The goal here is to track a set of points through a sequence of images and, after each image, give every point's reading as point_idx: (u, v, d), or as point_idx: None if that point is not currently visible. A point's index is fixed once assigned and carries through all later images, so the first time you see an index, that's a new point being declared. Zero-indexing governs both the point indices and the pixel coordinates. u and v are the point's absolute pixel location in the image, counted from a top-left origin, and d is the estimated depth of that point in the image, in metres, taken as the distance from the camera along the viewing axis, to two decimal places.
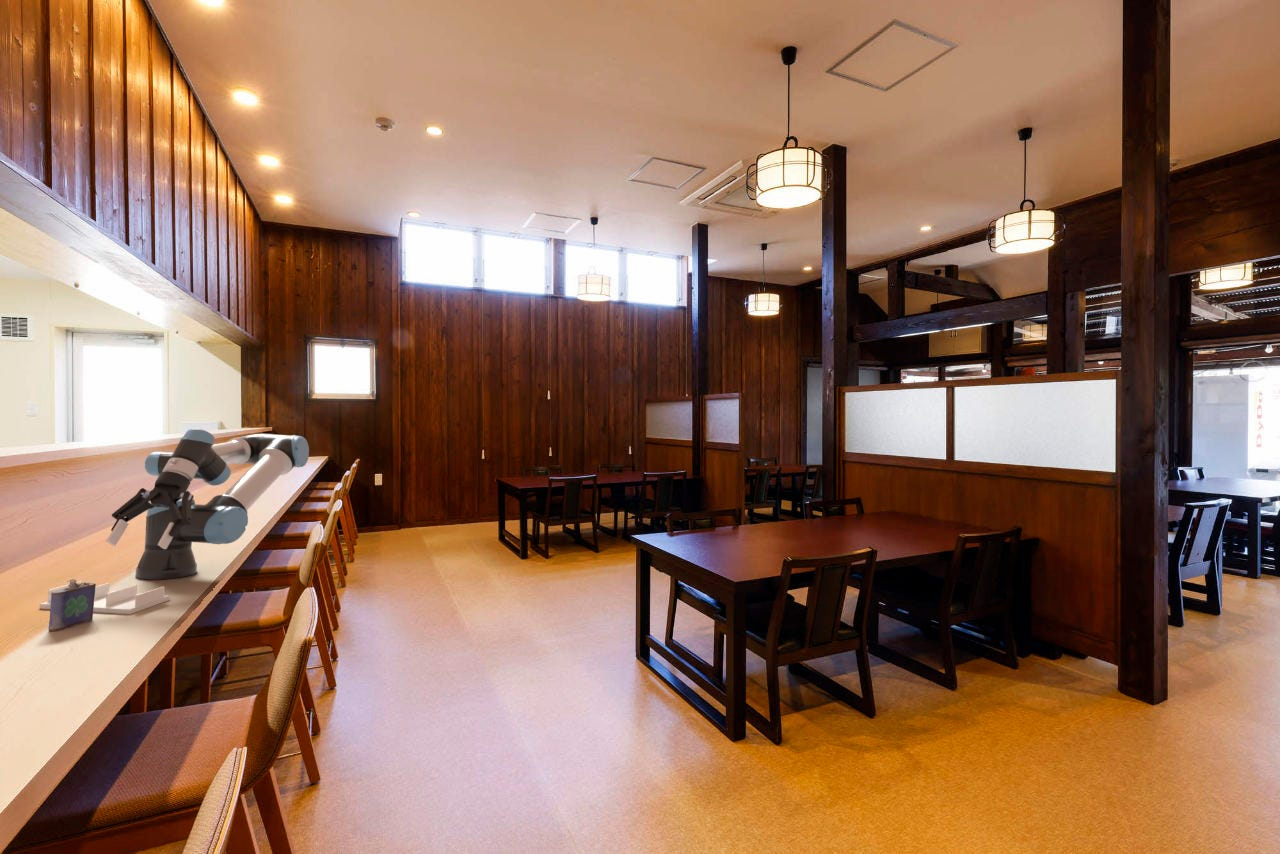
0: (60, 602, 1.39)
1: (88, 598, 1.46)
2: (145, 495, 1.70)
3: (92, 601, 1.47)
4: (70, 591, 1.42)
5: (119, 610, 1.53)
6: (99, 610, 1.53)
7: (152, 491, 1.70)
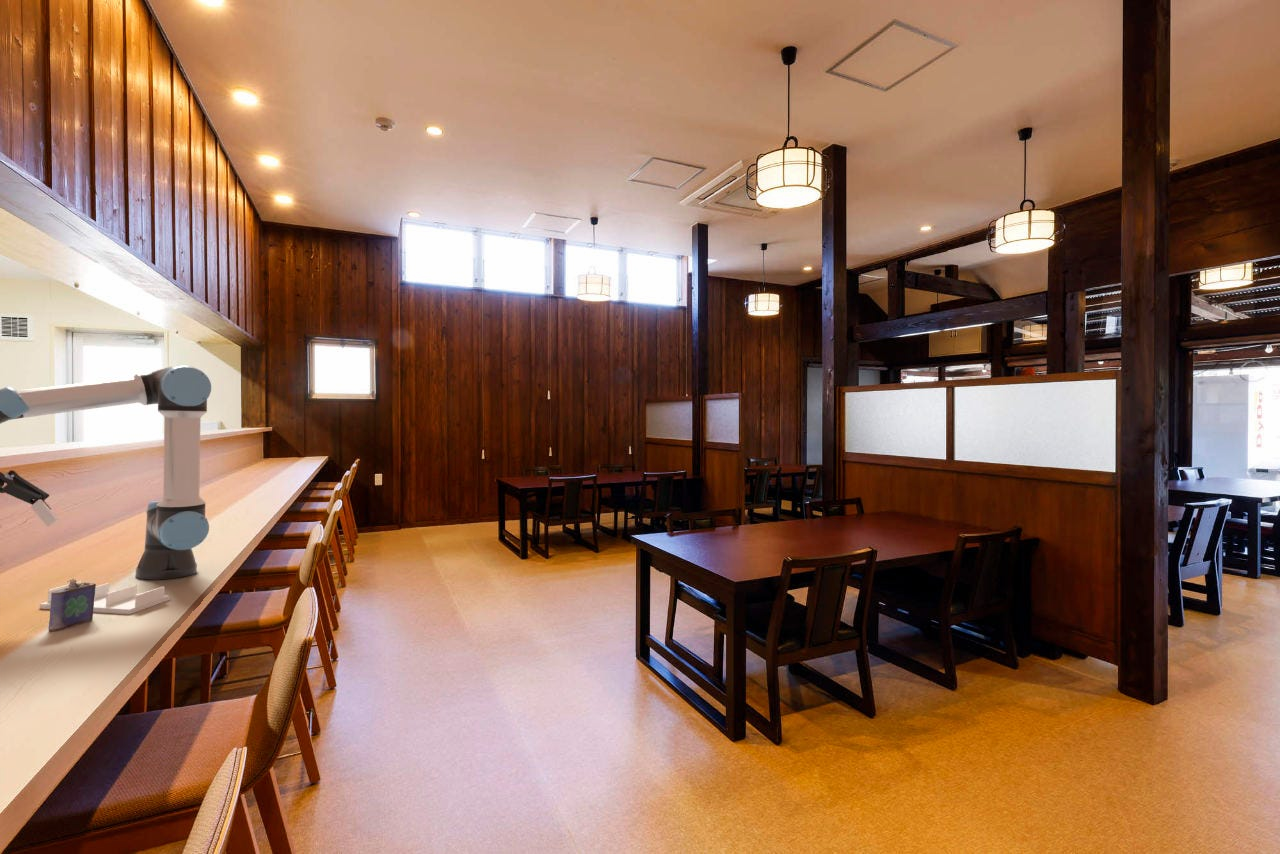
0: (60, 602, 1.39)
1: (88, 598, 1.46)
2: None
3: (92, 601, 1.47)
4: (70, 591, 1.42)
5: (119, 610, 1.53)
6: (99, 610, 1.53)
7: None
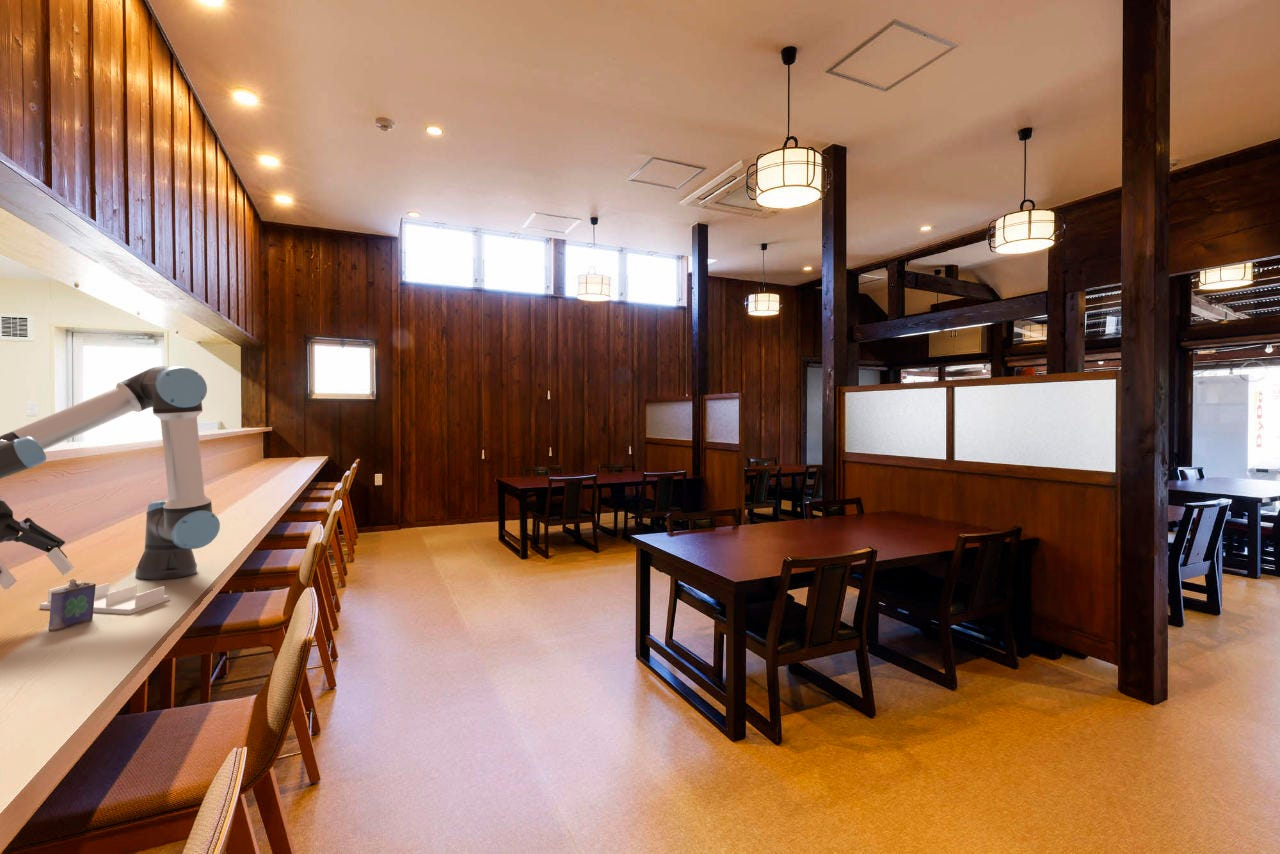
0: (60, 602, 1.39)
1: (88, 598, 1.46)
2: None
3: (92, 601, 1.47)
4: (70, 591, 1.42)
5: (119, 610, 1.53)
6: (99, 610, 1.53)
7: None
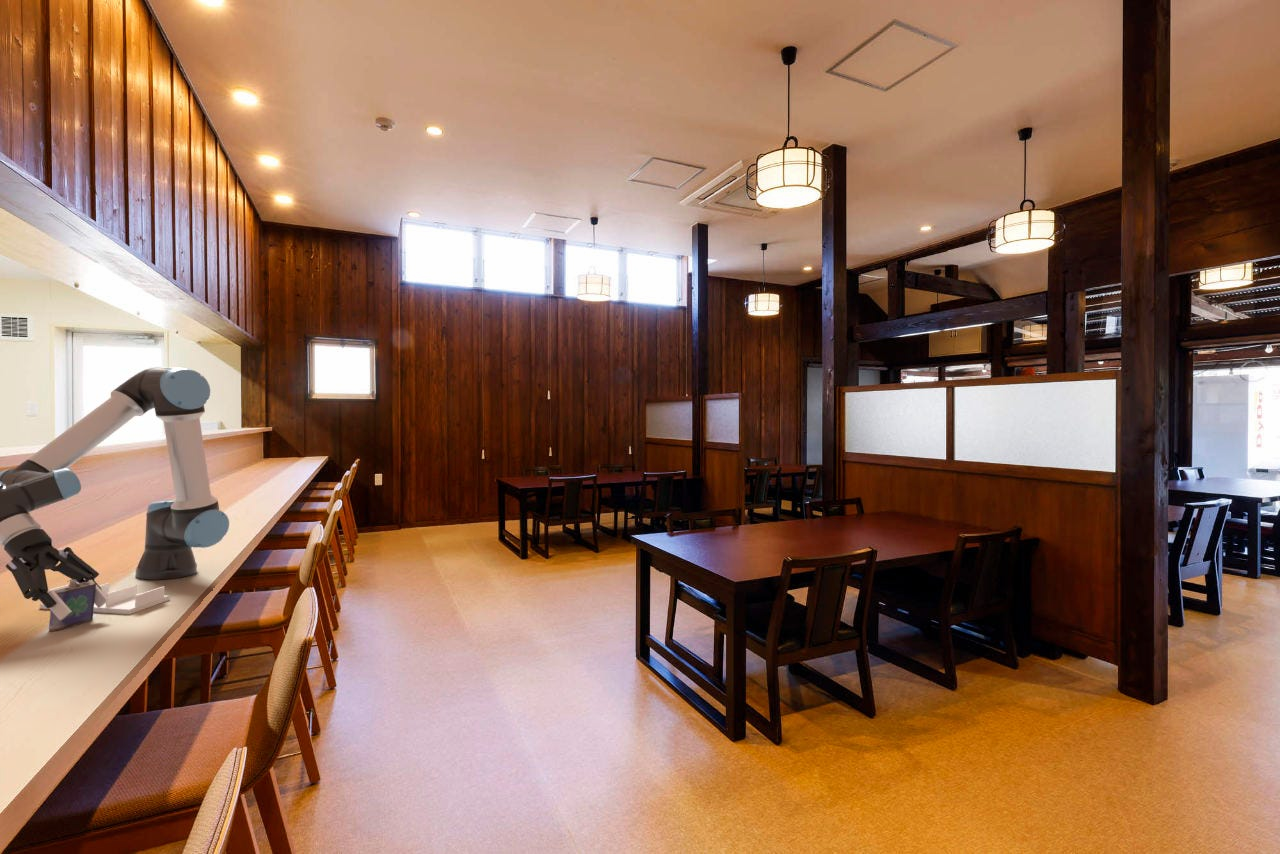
0: None
1: (88, 598, 1.46)
2: None
3: (92, 601, 1.47)
4: (70, 591, 1.42)
5: (119, 610, 1.53)
6: (99, 610, 1.53)
7: None
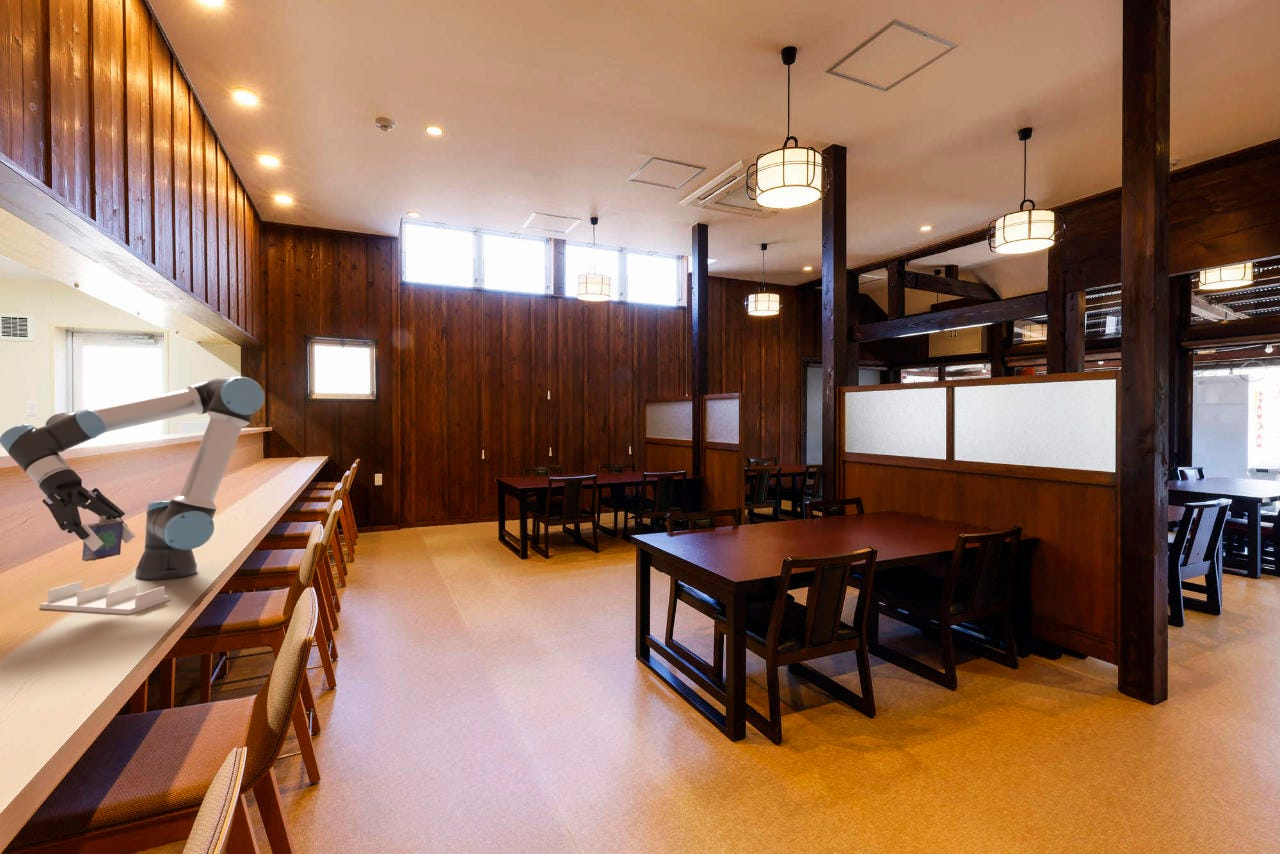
0: None
1: (116, 533, 1.58)
2: None
3: (120, 536, 1.59)
4: (101, 526, 1.54)
5: (119, 610, 1.53)
6: (99, 610, 1.53)
7: None
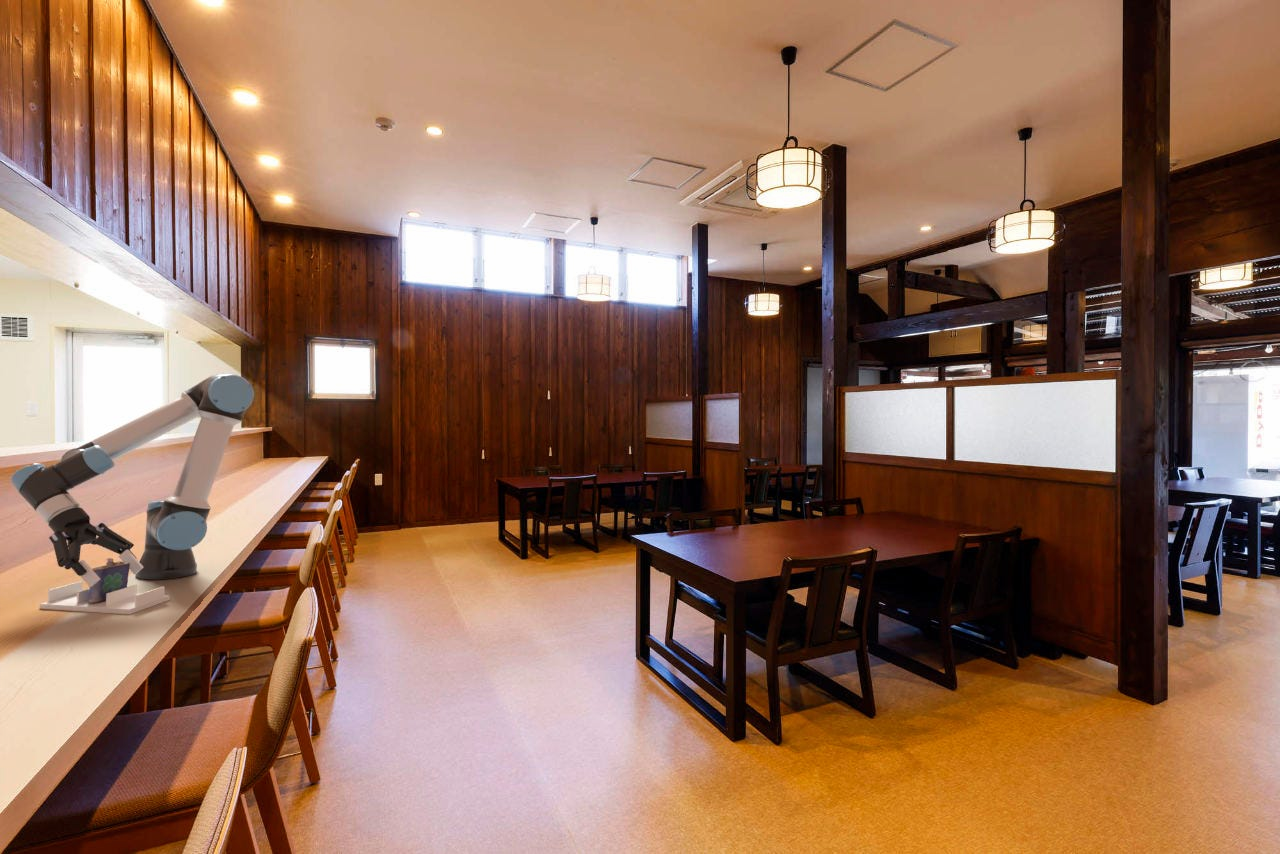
0: None
1: (123, 575, 1.61)
2: None
3: (126, 578, 1.62)
4: (108, 569, 1.57)
5: (119, 610, 1.53)
6: (99, 610, 1.53)
7: None
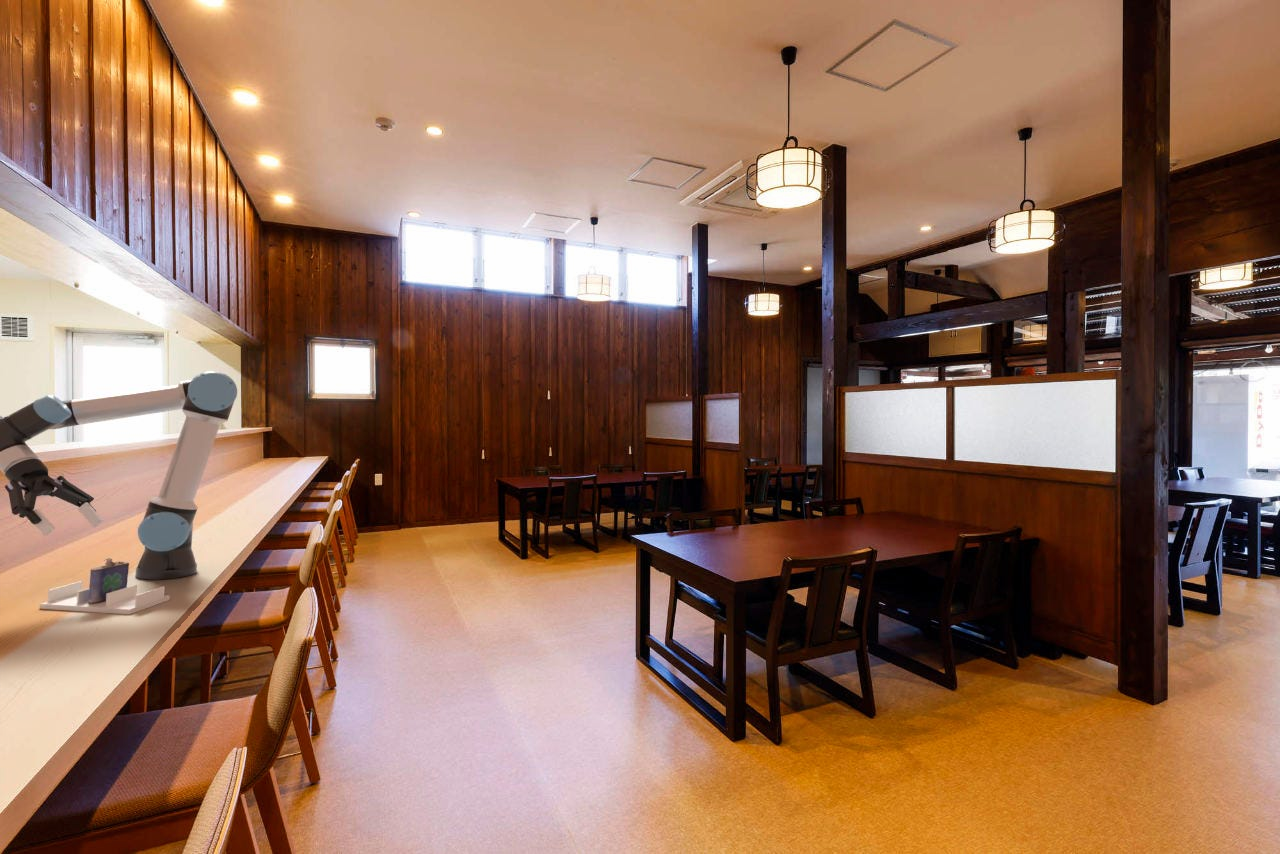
0: (98, 578, 1.55)
1: (122, 575, 1.61)
2: None
3: (126, 578, 1.62)
4: (107, 568, 1.57)
5: (119, 610, 1.53)
6: (99, 610, 1.53)
7: None
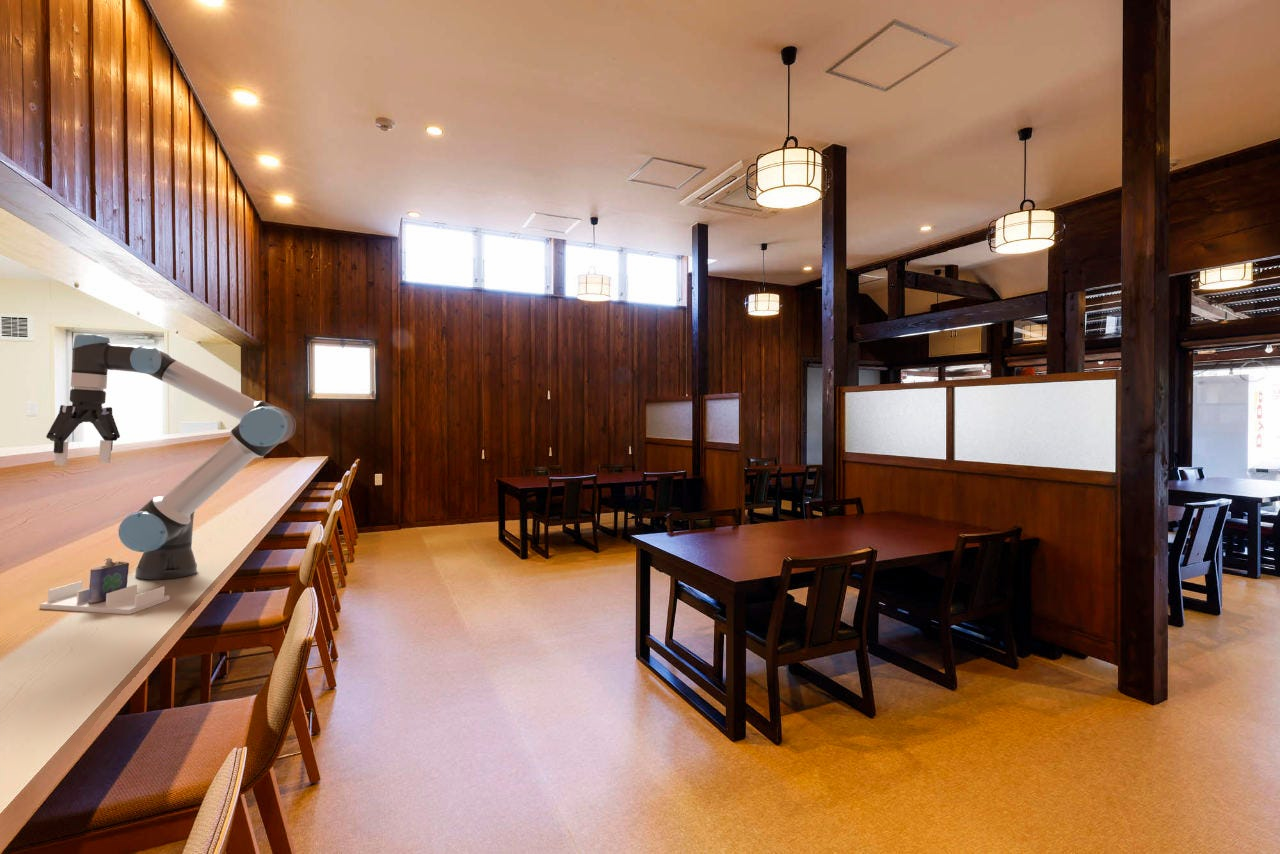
0: (98, 578, 1.55)
1: (122, 575, 1.61)
2: (101, 412, 1.77)
3: (126, 578, 1.62)
4: (107, 568, 1.57)
5: (119, 610, 1.53)
6: (99, 610, 1.53)
7: None
